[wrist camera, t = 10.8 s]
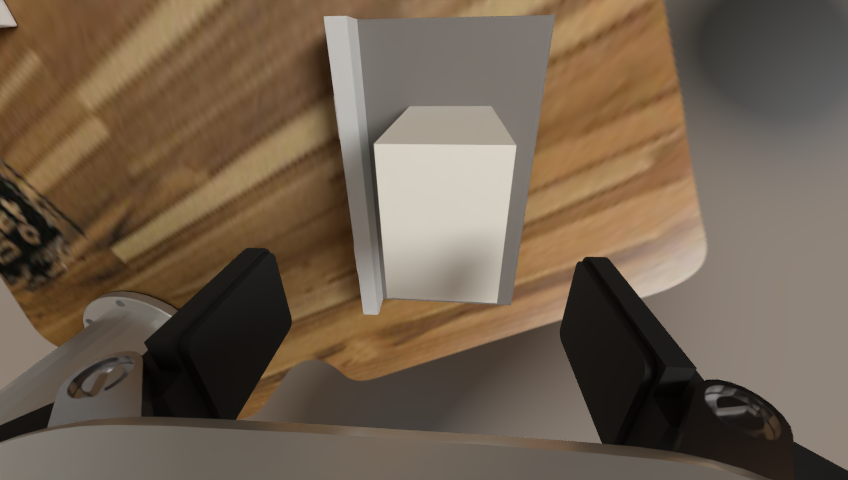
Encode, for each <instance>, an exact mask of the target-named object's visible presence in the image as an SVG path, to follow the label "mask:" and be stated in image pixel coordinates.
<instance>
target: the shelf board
mask: <svg viewBox="0 0 848 480" xmlns="http://www.w3.org/2000/svg"><path fill="white" fill-rule="evenodd" d="M554 20H555V15H535V16H491V17H448V18H404V19H361V20H357V19H354V18H351V17H348V16H324V23H325V30H326V38H327V45H328V53H329V60H330V67H331V75H332V82H333V90H334V96H333V97H334V105H335V112H336V119H337V127H338V134H339V139H340V142H341V150H342V157H343V164H344V172H345V179H346V187H347V194H348V202H349V209H350V217H351V224H352V232H353V239H354V252H355V260H356V267H357V272H358V276H359V284H360V291H361V299H362V306H363V314H373V315H378V314H379V310H380V307H381V304H382V301H383V299H397V300H417V301H437V302H457V303H476V304H496V305H511V301H512V294H513V288H514V281H515V275H516V268H517V262H518V255H519V249H520V242H521V235H522V229H523V222H524V216H525V209H526V203H527V196H528V190H529V183H530V177H531V170H532V164H533V157H534V151H535V144H536V137H537V131H538V124H539V118H540V111H541V105H542V98H543V92H544V85H545V79H546V72H547V66H548V59H549V52H550V46H551V39H552V33H553V26H554ZM409 106H491V107H492V108H493V110H494V111H495V113H496V114H497V116H498V117H499V119H500V120H501V122H502V124H503V125H504V127H505V128H506V130H507V131H508V133H509V134H510V136H511V137H512V139H513V140H514V142H515V144H516V145H517V146H516V154H515V162H514V170H513V178H512V186H511V194H510V202H509V210H508V218H507V226H506V234H505V242H504V250H503V258H502V266H501V274H500V283H499V291H498V299H497V303H482V302H461V301H441V300H421V299H400V298H387V292H386V280H385V268H384V257H383V245H382V234H381V222H380V210H379V199H378V187H377V176H376V164H375V153H374V143H375V142H376V141H377V140H378V139H379V138H380V137H381V136H382V135H383V134H384V133H385V132H386V131H387V129H388V128H389V127H390V126H391V125H392V124H393V123H394V122H395V121H396V120H397V119H398V118H399V117H400V116H401V115H402V114H403V113H404V112H405V111H406V110H407V108H408V107H409Z"/></svg>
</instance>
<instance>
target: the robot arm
mask: <svg viewBox="0 0 848 480" xmlns="http://www.w3.org/2000/svg"><path fill="white" fill-rule="evenodd" d="M291 322H292V319H291V314H290V311H289V307H288V303H287V299H286V296H285V292H284V288H283V284H282V281H281V277H280V273H279V269H278V266H277V262H276V258H275V256H274V254H272V253H270V252H269V250H268V249H266V248H247V249H245V250H244V251H243V252H242V253H240V254H239V255H238V256H237V257H236V258H235V259H234V260H233V261H232V262H231V263H230V264H228V265H227V266H226V267H225V268H224V269H223V270H222V271H221V272H220V273H219V274H218V275H217V276H215V277H214V278H213V279H212V280H211V281H210V282H209V283H208V284H207V285H206V286H205V287H203V288H202V289H201V290H200V291H199V292H198V293H197V294H196V295H195V296H194V297H193V298H191V299H190V300H189V301H188V302H187V303H186V304H185V305H184V306H183V307H182V308H181V309H179V310H176V309H175V308H173V307H172V306H170V305H168V304H166V303H164V302H162V301H160V300H158V299H155V298H153V297H150V296H147V295H143V294H139V293H135V292H125V291H119V292H110V293H107V294H104V295H102V296H100V297H99V298H97V299H96V300H94V301H92V302H91V303H90V304H89V305H88V306H87V307H86V309H85V311H84V314H83V323H84V329H83V330H82V331H80V332H79V333H78V334H76V335H75V336H73V337H72V338H71V339H69V340H68V341H67V342H65V343H64V344H62V345H61V346H60V347H58V348H57V349H56V350H54V351H53V352H52V353H50V354H49V355H48V356H46V357H45V358H43V359H42V360H41V361H39V362H38V363H37V364H35V365H34V366H33V367H31V368H30V369H28V370H27V371H26V372H24V373H23V374H21V375H20V376H19V377H17V378H16V379H15V380H13V381H12V382H11V383H9V384H8V385H6V386H5V387H4V388H2V389H1V390H0V480H848V471H847V470H845V469H843V468H841V467H840V466H838V465H836V464H834V463H832V462H830V461H829V460H826V459H825V458H823V457H821V456H819V455H818V454H816V453H814V452H812V451H810V450H808V449H807V448H804V447H803V446H801V445H799V444H797V443H795V442H794V441H793V433H792V429H791V426H790V425H789V423H788V422H787V420H786V419H785V417H784V416H783V415H782V414H781V413H780V412H779V411H778V410H777V409H776V408H775V407H774V406H773V405H772V404H770V403H769V402H768V401H766V400H765V399H763V398H762V397H761V396H759V395H758V394H756V393H754V392H752V391H750V390H748V389H747V388H745V387H742V386H740V385H737V384H734V383H732V382H728V381H723V380H718V379H712V380H711V379H709V380H705V381H704V380H703V378H702V377H701V376H700V375H699V373H698V372H697V371H696V367H695V366H694V364H693V363H692V362H691V361H690V360H689V358H688V357H687V356H686V354H685V353H684V352H683V351H682V349H681V348H680V347H679V346H678V344H677V343H676V342H675V341H674V340H673V338H672V337H671V336H670V335H669V334H668V332H667V331H666V330H665V328H664V327H663V326H662V325H661V323H660V322H659V321H658V320H657V318H656V317H655V316H654V315H653V313H652V312H651V311H650V310H649V308H648V307H647V306H646V305H645V303H644V302H643V301H642V300H641V298H640V297H639V296H638V295H637V293H636V292H635V291H634V290H633V289H632V287H631V286H630V285H629V284H628V282H627V281H626V280H625V279H624V277H623V276H622V275H621V274H620V272H619V271H618V270H617V269H616V267H615V266H614V265H613V264H612V262H611V261H610V260H609V259H608V258H606V257H585V258H584V259H583V261H582V262H580V261H579V262H578V263H577V265H576V268H575V272H574V276H573V280H572V284H571V288H570V292H569V296H568V300H567V304H566V308H565V312H564V316H563V320H562V324H561V328H560V338H561V342H562V344H563V347H564V349H565V352H566V354H567V357H568V359H569V362H570V364H571V367H572V369H573V372H574V374H575V377H576V379H577V382H578V384H579V387H580V389H581V392H582V395H583V397H584V400H585V402H586V404H587V407H588V409H589V412H590V414H591V417H592V419H593V422H594V425H595V427H596V429H597V432H598V435H599V437H600V440H601V442H602V444H599V443H587V442H575V441H563V440H549V439H534V438H519V437H505V436H490V435H475V434H461V433H445V432H430V431H413V430H397V429H381V428H365V427H349V426H332V425H316V424H315V425H314V424H298V423H280V422H279V423H278V422H261V421H245V420H236V418H237V417H238V415H239V413H240V412H241V410H242V408H243V407H244V405H245V403H246V402H247V400H248V398H249V397H250V395H251V393H252V392H253V390H254V388H255V387H256V385H257V383H258V381H259V380H260V378H261V376H262V375H263V373H264V371H265V370H266V368H267V366H268V365H269V363H270V361H271V360H272V358H273V356H274V355H275V353H276V351H277V350H278V348H279V346H280V345H281V343H282V341H283V340H284V338H285V336H286V335H287V333H288V331H289V329H290V327H291Z"/></svg>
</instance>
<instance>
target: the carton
mask: <svg viewBox="0 0 848 480" xmlns="http://www.w3.org/2000/svg"><path fill="white" fill-rule="evenodd" d="M516 146H517V145H516V144H515V142H514V140H513V139H512V137H511V136H510V134H509V133H508V131H507V130H506V128H505V127H504V125H503V124H502V122H501V120H500V119H499V117H498V116H497V114H496V113H495V111H494V110H493V108H492V107H491V106H409V107H408V108H407V110H406V111H405V112H404V113H403V114H402V115H401V116H400V117H399V118H398V119H397V120H396V121H395V122H394V123H393V124H392V125H391V126H390V127H389V128H388V129H387V131H386V132H385V133H384V134H383V135H382V136H381V137H380V138H379V139H378V140H377V141H376V142H375V143H374V153H375V164H376V176H377V187H378V199H379V210H380V222H381V234H382V245H383V257H384V268H385V280H386V292H387V298H400V299H421V300H441V301H461V302H482V303H497V299H498V291H499V283H500V274H501V266H502V258H503V250H504V242H505V234H506V226H507V218H508V210H509V202H510V194H511V186H512V178H513V170H514V162H515V154H516Z"/></svg>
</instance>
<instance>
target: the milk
mask: <svg viewBox="0 0 848 480" xmlns="http://www.w3.org/2000/svg"><path fill="white" fill-rule="evenodd" d="M16 26H17V24H16V22H15V20H14V18H13V16H12V15H11V13H10V11H9V9H8V7H7V5H6V4H5V2H4V0H0V28H4V27H16Z"/></svg>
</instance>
